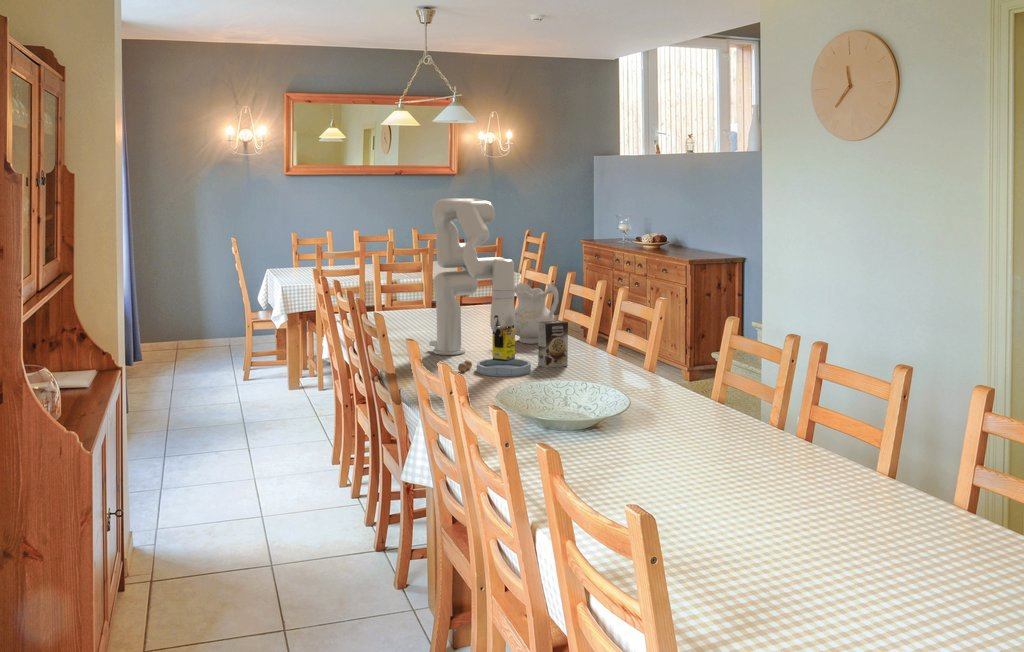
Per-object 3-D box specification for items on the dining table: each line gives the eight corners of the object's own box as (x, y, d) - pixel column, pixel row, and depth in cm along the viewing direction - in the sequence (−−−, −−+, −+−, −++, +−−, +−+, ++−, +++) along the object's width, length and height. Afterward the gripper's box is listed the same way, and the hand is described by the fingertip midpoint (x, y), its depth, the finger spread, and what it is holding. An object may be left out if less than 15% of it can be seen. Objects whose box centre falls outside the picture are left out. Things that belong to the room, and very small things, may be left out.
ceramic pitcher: (564, 341, 385) (566, 283, 383) (554, 346, 366) (555, 284, 364) (515, 339, 391) (516, 281, 389) (502, 343, 372) (503, 283, 370)
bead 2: (461, 369, 322) (461, 360, 322) (466, 367, 325) (466, 359, 325) (469, 370, 321) (469, 361, 320) (473, 368, 324) (473, 359, 323)
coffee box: (546, 368, 324) (546, 323, 322) (537, 365, 330) (537, 321, 327) (568, 366, 328) (568, 321, 326) (559, 362, 334) (559, 319, 331)
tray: (466, 373, 316) (466, 365, 315) (493, 363, 332) (493, 356, 332) (514, 378, 307) (514, 370, 306) (539, 368, 323) (540, 361, 323)
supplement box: (506, 361, 315) (506, 330, 313) (492, 360, 318) (491, 329, 316) (515, 359, 320) (515, 328, 318) (501, 357, 323) (501, 327, 321)
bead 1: (456, 372, 318) (456, 363, 317) (461, 370, 320) (461, 361, 320) (464, 373, 316) (464, 364, 316) (468, 371, 319) (468, 362, 318)
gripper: (505, 291, 325) (506, 341, 327) (481, 296, 310) (481, 348, 312) (524, 292, 321) (524, 343, 324) (500, 298, 306) (500, 350, 309)
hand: (503, 345), depth 318 cm, fingers closed on supplement box, 6 cm apart
